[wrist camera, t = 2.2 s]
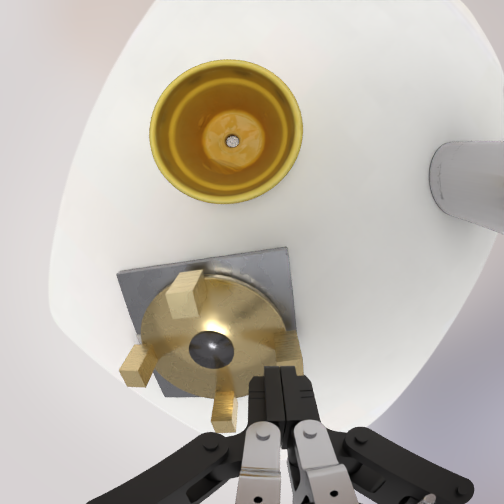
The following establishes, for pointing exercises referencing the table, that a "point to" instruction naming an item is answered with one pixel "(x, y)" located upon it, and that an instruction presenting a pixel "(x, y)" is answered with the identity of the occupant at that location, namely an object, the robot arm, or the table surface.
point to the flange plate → (235, 266)
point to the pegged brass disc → (211, 341)
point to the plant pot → (226, 131)
